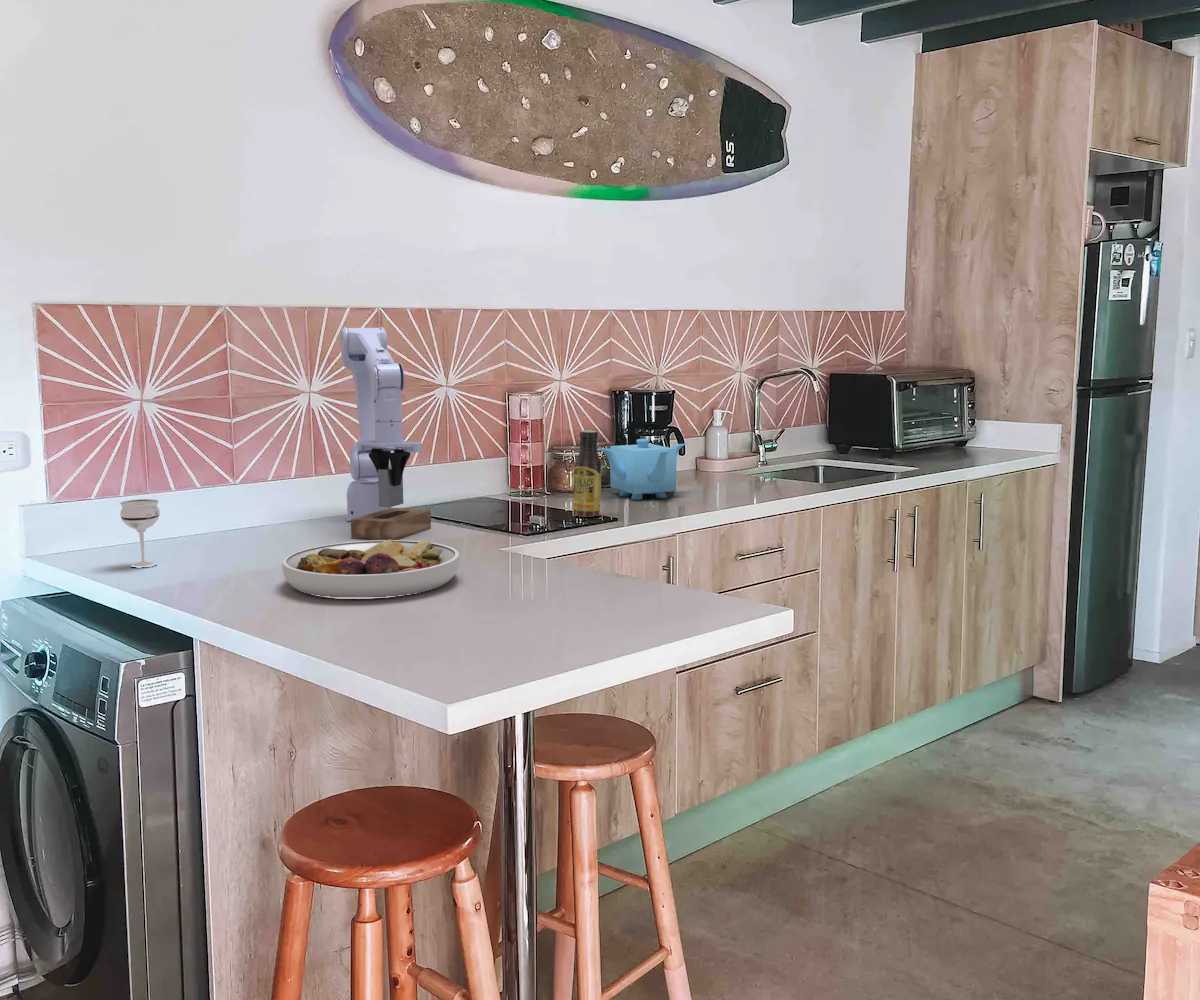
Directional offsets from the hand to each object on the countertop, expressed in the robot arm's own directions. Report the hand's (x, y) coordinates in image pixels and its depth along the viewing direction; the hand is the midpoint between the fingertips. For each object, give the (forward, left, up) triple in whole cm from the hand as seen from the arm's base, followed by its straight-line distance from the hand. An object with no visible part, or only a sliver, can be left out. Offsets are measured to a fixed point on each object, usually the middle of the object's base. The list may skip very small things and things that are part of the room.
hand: (390, 485), depth 245 cm
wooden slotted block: (0, 0, -10) cm, 10 cm away
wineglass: (-27, -44, -11) cm, 53 cm away
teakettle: (+35, +66, -11) cm, 75 cm away
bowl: (+21, -42, -11) cm, 48 cm away
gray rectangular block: (0, 0, -4) cm, 4 cm away
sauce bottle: (+32, +33, -11) cm, 47 cm away
